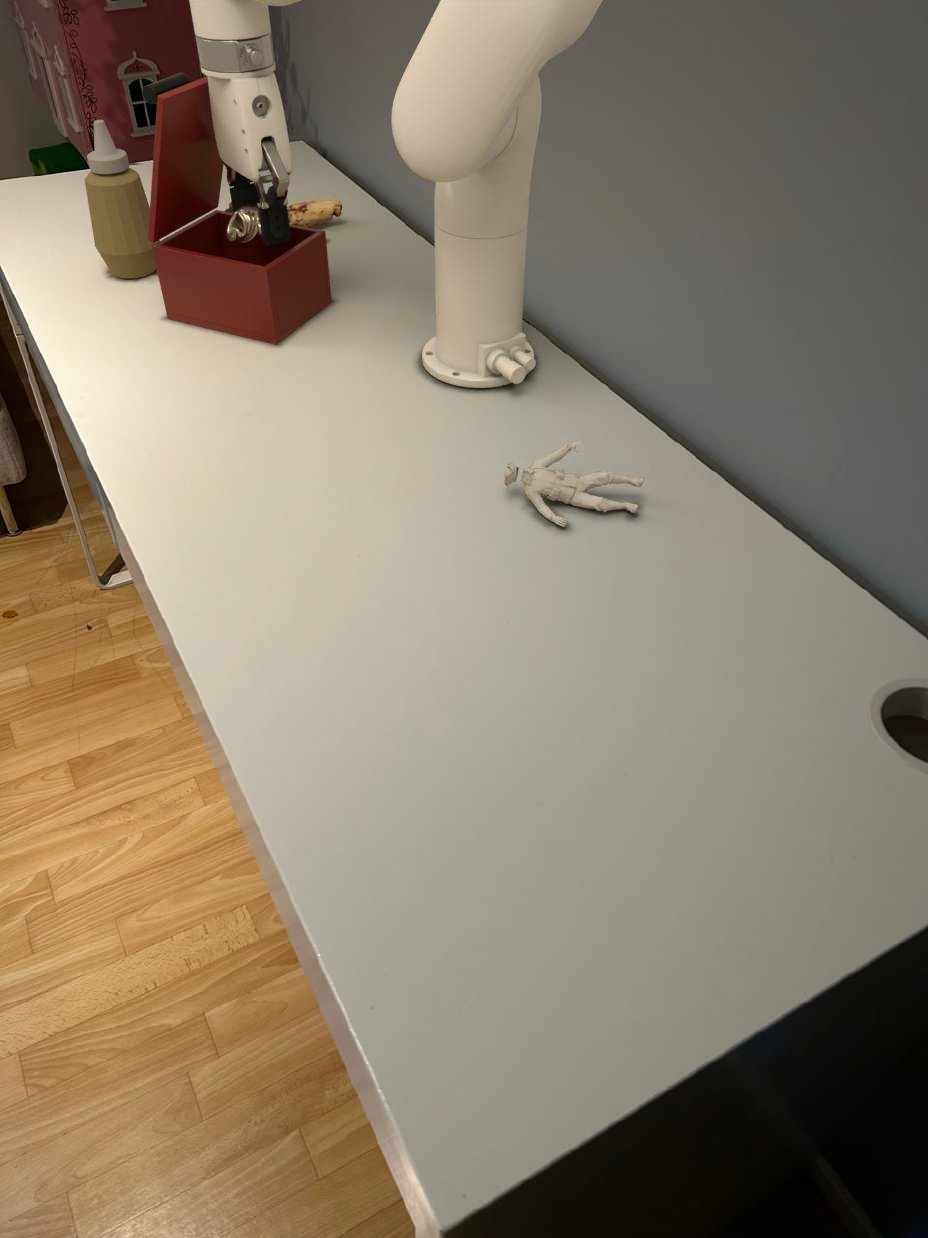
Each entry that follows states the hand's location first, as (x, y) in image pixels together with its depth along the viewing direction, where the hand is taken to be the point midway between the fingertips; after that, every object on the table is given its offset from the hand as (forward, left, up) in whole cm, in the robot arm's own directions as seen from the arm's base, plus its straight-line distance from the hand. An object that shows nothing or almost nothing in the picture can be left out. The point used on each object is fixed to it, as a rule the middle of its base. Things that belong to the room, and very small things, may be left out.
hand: (262, 230), depth 107 cm
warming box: (+3, +2, -10) cm, 11 cm away
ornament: (0, 0, -1) cm, 1 cm away
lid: (+7, +4, +7) cm, 10 cm away
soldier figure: (-50, -6, -10) cm, 52 cm away
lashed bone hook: (+22, -12, -10) cm, 27 cm away
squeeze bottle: (+22, +10, -10) cm, 26 cm away
